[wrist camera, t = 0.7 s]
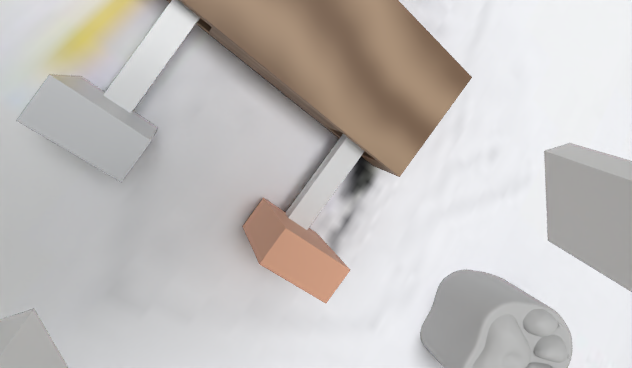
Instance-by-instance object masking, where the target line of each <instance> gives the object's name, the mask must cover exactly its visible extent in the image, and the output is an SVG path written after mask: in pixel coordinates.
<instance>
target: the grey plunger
mask: <svg viewBox="0 0 632 368" xmlns="http://www.w3.org/2000/svg"><path fill="white" fill-rule="evenodd" d="M199 19H200V17H199V16H198V15H196V14H195V13H194V12H193V11H191V10H190V9H189V8H188V7H186V6H185V5H184V4H183V3H182V2H180V1H179V0H172V1H171V2H170V3H169V5H168V6H167V7H166V9H165V10H164V12H163V13H162V14H161V16H160V17H159V19H158V20H157V21H156V23H155V24H154V25H153V27H152V28H151V30H150V31H149V32H148V34H147V35H146V36H145V38H144V39H143V41H142V42H141V43H140V45H139V46H138V48H137V49H136V50H135V52H134V53H133V54H132V56H131V57H130V59H129V60H128V61H127V63H126V64H125V65H124V67H123V68H122V70H121V71H120V72H119V74H118V75H117V77H116V78H115V79H114V81H113V82H112V83H111V85H110V86H109V88H108V89H107V90H106V92H104V91H103V90H101V89H100V88H98V87H97V86H95V85H94V84H92V83H91V82H89V81H88V80H86V79H85V78H83V77H82V76H67V75H50V74H49V76H48V77H47V79H46V80H45V81H44V83H43V84H42V86H41V87H40V88H39V90H38V91H37V92H36V94H35V95H34V97H33V98H32V99H31V101H30V102H29V103H28V105H27V106H26V108H25V109H24V110H23V112H22V113H21V115H20V116H19V117H18V119H17V120H16V121H18V122H19V123H21V124H23V125H24V126H26V127H28V128H30V129H31V130H33V131H35V132H36V133H38V134H40V135H41V136H43V137H45V138H46V139H48V140H50V141H52V142H53V143H55V144H57V145H58V146H60V147H62V148H63V149H65V150H67V151H68V152H70V153H72V154H74V155H75V156H77V157H79V158H80V159H82V160H84V161H85V162H87V163H89V164H90V165H92V166H94V167H96V168H97V169H99V170H101V171H102V172H104V173H106V174H107V175H109V176H111V177H113V178H114V179H116V180H118V181H119V182H122V181H123V180H124V178H125V177H126V176H127V174H128V173H129V171H130V170H131V169H132V167H133V166H134V164H135V163H136V162H137V160H138V159H139V158H140V156H141V155H142V153H143V152H144V151H145V149H146V148H147V147H148V145H149V144H150V142H151V141H152V139H153V137H154V135H155V132H156V130H157V128H158V127H157V126H155V125H154V124H152V123H151V122H149V121H148V120H146V119H145V118H143V117H142V116H140V115H139V114H137V113H136V112H134V111H133V110H134V109H135V107H136V106H137V105H138V103H139V102H140V101H141V99H142V98H143V96H144V95H145V94H146V92H147V91H148V90H149V88H150V87H151V85H152V84H153V83H154V81H155V80H156V79H157V77H158V76H159V74H160V73H161V72H162V70H163V69H164V67H165V66H166V65H167V63H168V62H169V61H170V59H171V58H172V56H173V55H174V54H175V52H176V51H177V50H178V48H179V47H180V45H181V44H182V43H183V41H184V40H185V38H186V37H187V36H188V34H189V33H190V32H191V30H192V29H193V27H194V26H195V25H196V23H197V22H198V21H199Z"/></svg>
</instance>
